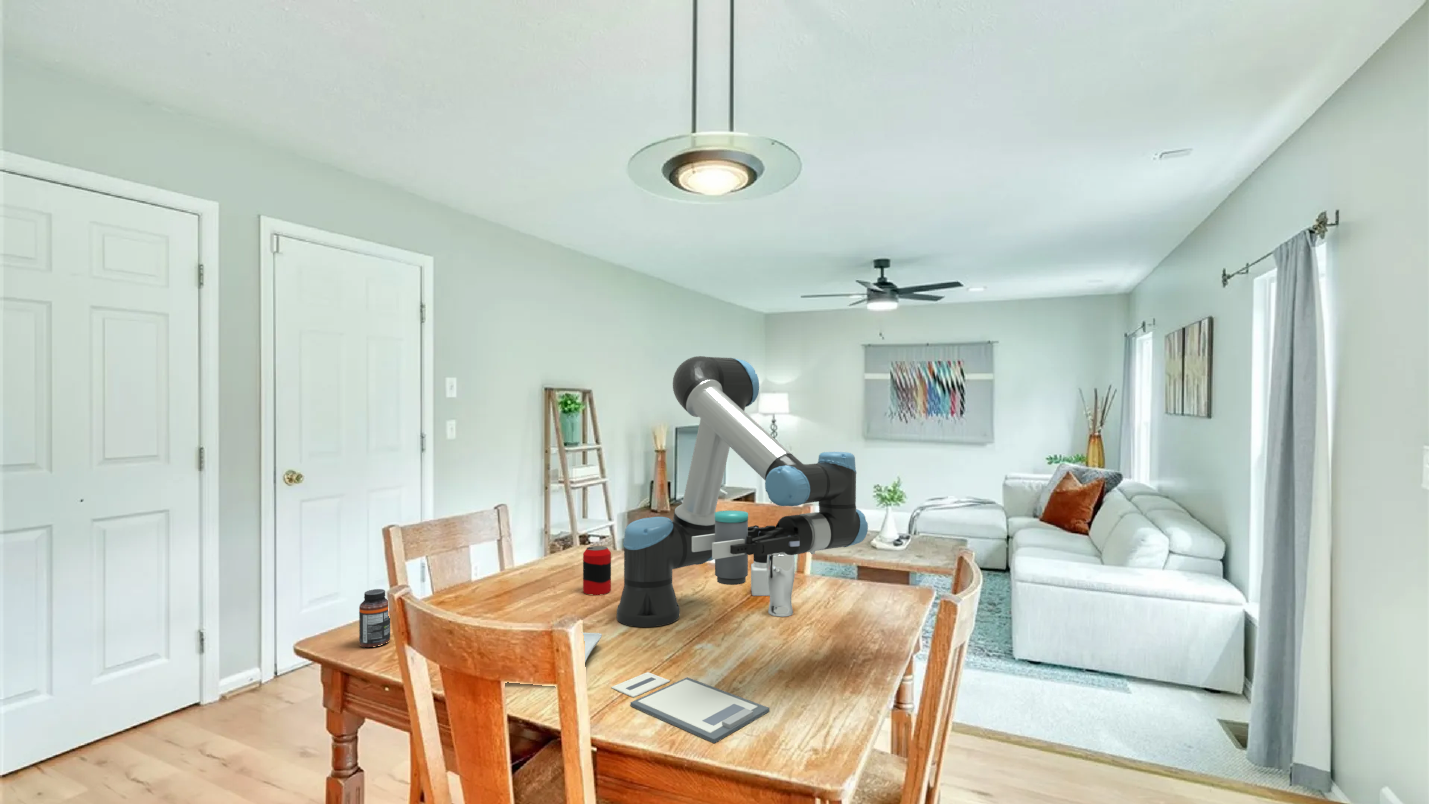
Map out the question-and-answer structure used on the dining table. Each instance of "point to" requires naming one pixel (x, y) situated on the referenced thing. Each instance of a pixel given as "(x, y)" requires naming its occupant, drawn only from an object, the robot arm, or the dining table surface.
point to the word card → (640, 684)
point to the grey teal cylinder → (727, 529)
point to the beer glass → (780, 583)
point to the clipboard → (700, 709)
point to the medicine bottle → (759, 576)
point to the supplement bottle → (374, 619)
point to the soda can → (597, 570)
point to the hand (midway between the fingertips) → (703, 547)
